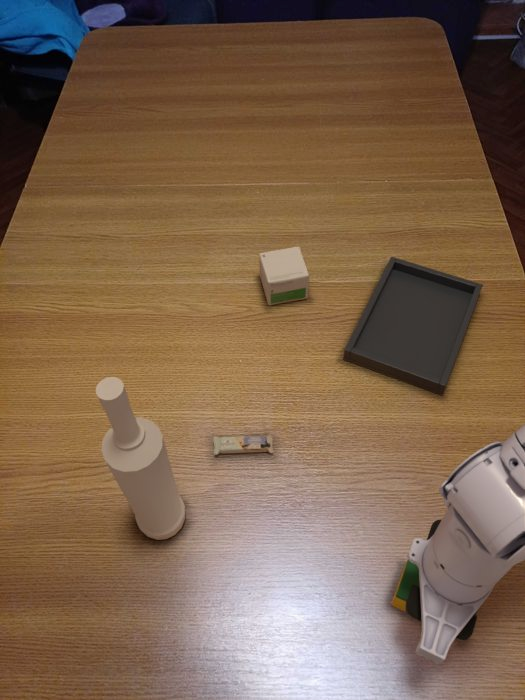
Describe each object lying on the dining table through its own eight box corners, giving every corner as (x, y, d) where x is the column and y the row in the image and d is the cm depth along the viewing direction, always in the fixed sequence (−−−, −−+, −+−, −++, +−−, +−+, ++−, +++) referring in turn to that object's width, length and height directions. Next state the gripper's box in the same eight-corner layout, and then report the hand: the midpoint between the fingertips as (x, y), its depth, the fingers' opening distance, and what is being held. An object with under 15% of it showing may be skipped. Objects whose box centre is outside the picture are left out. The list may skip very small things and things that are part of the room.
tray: (479, 295, 82) (483, 284, 81) (442, 395, 73) (445, 386, 71) (389, 266, 86) (391, 256, 84) (342, 359, 77) (344, 349, 75)
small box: (267, 307, 82) (267, 282, 78) (259, 276, 85) (257, 251, 81) (309, 300, 83) (310, 274, 79) (298, 269, 86) (299, 244, 82)
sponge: (473, 598, 59) (483, 588, 57) (462, 639, 57) (472, 630, 54) (403, 567, 61) (409, 555, 58) (390, 605, 59) (396, 595, 56)
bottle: (141, 548, 63) (77, 426, 43) (134, 501, 66) (70, 368, 46) (191, 534, 64) (150, 409, 44) (181, 489, 67) (139, 352, 47)
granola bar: (213, 457, 69) (212, 452, 68) (213, 438, 70) (213, 434, 69) (273, 455, 69) (273, 450, 68) (272, 436, 70) (272, 432, 69)
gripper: (446, 452, 52) (417, 513, 63) (390, 615, 44) (368, 653, 55) (530, 485, 50) (486, 542, 61) (487, 662, 43) (445, 691, 53)
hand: (435, 597), depth 58 cm, fingers closed on sponge, 4 cm apart
